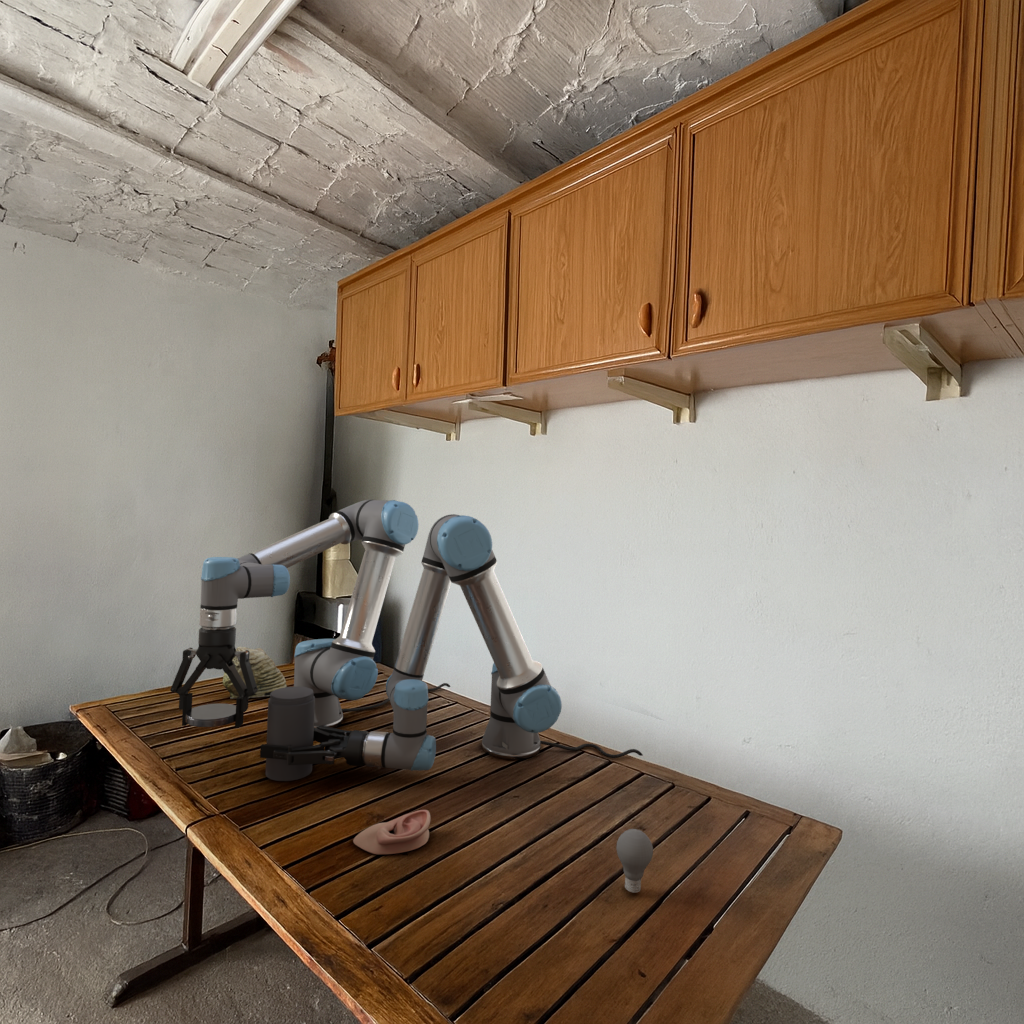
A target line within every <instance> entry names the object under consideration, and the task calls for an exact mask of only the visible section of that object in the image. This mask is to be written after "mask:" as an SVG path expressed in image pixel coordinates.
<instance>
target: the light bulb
mask: <svg viewBox="0 0 1024 1024" xmlns="http://www.w3.org/2000/svg"><path fill="white" fill-rule="evenodd" d="M615 849H616V854H617V857H618V859H619V861H620V863H621V865H622V867H623V873H624V874H623V875H624V876H625V878H624V888H625V890H627V891H628V892H630V893H634V894H635V893H639V892H640V891H641V889H642V887H641V886H642V879H643V877H644V875H645V871H646V868H647V867H648V866H649V864H650V863H651V861H652V859H653V855H654V847H653V843H652V841H651V838H649V836H648V835H647V834H646V833H645V832H643V831H642V830H641V829H636V828H629V829H627V830H625V831H623V832H622V833H621V834H620V835H619V837H618V839H617V841H616V847H615Z"/></svg>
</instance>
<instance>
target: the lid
mask: <svg viewBox="0 0 1024 1024" xmlns="http://www.w3.org/2000/svg"><path fill="white" fill-rule="evenodd" d="M235 717H236V704H232V703H208V704H202V705H199V706H195V707H192V709H190V710H188V711H187V712H186V716H185V721H186V723H187V725H189V726H192V727H197V728H215V727H221V726H226V725H230V724H232V723H235Z"/></svg>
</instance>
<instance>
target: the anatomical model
mask: <svg viewBox="0 0 1024 1024" xmlns="http://www.w3.org/2000/svg"><path fill="white" fill-rule="evenodd" d="M430 824H431V813H430V811H429V810H428V809H420V810H419V809H418V810H416V811H412V812H409V813H405V814H403V815H401V816H398V817H396V818H394V819H391V820H389V821H385V822H378V823H375V824H373V825H370V826H369V827H367V828H365V829H364V830H362V831H360V832H359V833H358V834H357V835H355V837H354V838H353V839H352V842H353V844H354V845H355V846H356V847H358V848H360V849H362V850H363V851H365V852H368V853H369V854H374V855H378V856H379V855H393V854H400V853H402V854H403V853H406V852H410V851H413V850H417V849H419V848H421V847H422V846H424V845H426V844H427V842H428V841H429V838H430V830H429V827H430Z"/></svg>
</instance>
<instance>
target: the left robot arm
mask: <svg viewBox="0 0 1024 1024" xmlns="http://www.w3.org/2000/svg"><path fill="white" fill-rule="evenodd" d="M418 533H419V518H418V515H417V514H416V510H415V509H414V508H413V507H412V506H411V505H410V504H408V503H407V502H405V501H401V500H400V501H399V500H395V499H391V500H385V499H364V500H361V501H358V502H355V503H353V504H350V505H348V506H346V507H344V508H341V509H339V510H337V511H335V512H332V513H330V514H329V516H328V519H325V520H323V521H320V522H318V523H315V524H314V525H311V526H309V527H307V528H305V529H302V530H300V531H297V532H295V533H293V534H291V535H289V536H286V537H284V538H282V539H279V540H276V541H275V542H273V543H270V544H267V545H266V546H263V547H261V548H257V549H256V550H253V551H251V552H250V553H247V554H243V555H242V556H239V557H233V556H232V557H231V556H213V557H212V556H211V557H207V558H205V559H204V560H203V563H202V569H201V575H200V605H199V606H200V607H199V608H200V609H199V626H200V628H199V629H198V639H197V640H198V643H197V644H198V646H197V648H193V647H189V648H186V649H183V651H182V660H181V663H180V665H179V668H178V670H177V672H176V674H175V677H174V680H173V681H172V684H171V687H170V692H171V693H175V694H177V695H178V696H179V697H178V709H179V710H182V717H181V726H182V727H186V726H187V725H188V724H187V723H186V721H185V716H186V712H187V711H188V710H190V709H192V708H193V692H190V691H191V689H192V688H193V686H194V685H195V684H196V683H197V681H198V680H199V679H200V677H201V675H202V674H203V672H205V670H213V669H215V670H218V671H219V670H220V671H221V670H222V671H223V673H224V672H225V673H226V674H227V675H228V677H229V679H230V680H231V682H232V684H233V685H234V687H235V689H236V690H237V692H238V694H239V697H238V698H235V700H236V701H235V706H236V717H235V722H234V728H235V729H239V728H240V727H242V726H243V725H244V715H245V713H246V712H247V711H248V709H249V700H250V698H249V696H252V695H254V694H255V693H256V692H257V691H258V688H257V685H256V682H255V678H254V675H253V672H252V668H251V665H250V662H249V654H250V652H249V651H248V650H246V651H236V649H237V648H236V638H237V637H236V636H237V628H236V625H237V621H238V620H237V617H238V602H239V601H238V600H241V599H254V598H269V597H270V598H274V597H278V596H279V597H280V596H283V595H285V594H286V593H287V592H288V590H289V588H290V585H291V575H290V572H289V570H288V568H290V567H292V566H294V565H297V564H299V563H301V562H303V561H305V560H307V559H310V558H312V557H314V556H316V555H318V554H320V553H322V552H324V551H327V550H329V549H331V548H333V547H335V546H338V545H340V544H341V545H348V544H350V543H352V542H355V541H361V544H362V546H363V548H364V553H363V556H362V559H361V564H360V565H359V566H360V567H359V570H358V573H357V577H356V580H355V583H354V587H353V590H352V594H351V597H350V600H349V604H348V606H347V607H348V608H347V610H346V614H345V617H344V622H343V625H342V627H341V631H340V635H339V636H338V637H337V638H318V639H308V640H304V641H300V642H299V643H297V644H296V646H295V650H294V655H293V657H294V672H293V673H294V674H293V687H306V688H310V689H312V690H313V693H314V696H315V711H314V728H317V726H318V725H321V726H326V727H331V728H337V727H339V726H340V725H342V723H343V722H344V714H343V712H345V713H346V712H358V711H359V712H360V711H367V710H371V709H375V708H379V707H381V706H384V705H385V704H387V703H388V702H390V700H389V698H388V697H387V698H386V699H385V700H383V701H382V702H379V703H376V704H373V705H367V706H362V707H353V708H342V706H341V702H340V699H341V700H347V701H357V700H360V699H362V698H364V696H366V695H367V694H369V693H370V692H371V691H372V690H373V688H374V686H375V685H376V683H377V679H378V675H379V669H378V667H377V663H376V661H374V658H375V655H376V650H375V647H374V646H373V640H374V636H375V633H376V630H377V625H378V624H379V623H378V622H379V619H380V615H381V612H382V609H383V605H384V601H385V597H386V594H387V591H388V587H389V583H390V579H391V576H392V573H393V570H394V565H395V562H396V559H397V558H398V557H400V556H401V555H403V554H404V551H405V548H406V545H408V544H410V543H411V542H412V541H414V540H415V539H416V536H417V535H418ZM196 656H197V658H198V660H199V661H200V662H199V663H198V664H197V665H196V667H195V669H194V670H193V672H192V673H191V675H190V676H189V677H188V679H187V680H186V681H185V679H186V677H187V675H188V672H189V670H190V667H191V665H192V663H193V660H194V659H195V657H196ZM235 656H236V657H237V659H238V661H240V667H241V670H242V674H243V677H244V680H245V683H244V681H243V680H242V678H241V676H240V675H239V673H238V671H237V670H236V668H235V667H236V666H235V664H234V662H233V661H232V660H233V658H234V657H235ZM184 682H185V683H184ZM245 684H246V685H245ZM443 687H447V688H451V685H450V684H449V683H447V682H443V683H441V684H439V685H438V686H436V687H433V688H428V692H434V691H437V690H439V689H441V688H443ZM322 731H323V730H322Z"/></svg>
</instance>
